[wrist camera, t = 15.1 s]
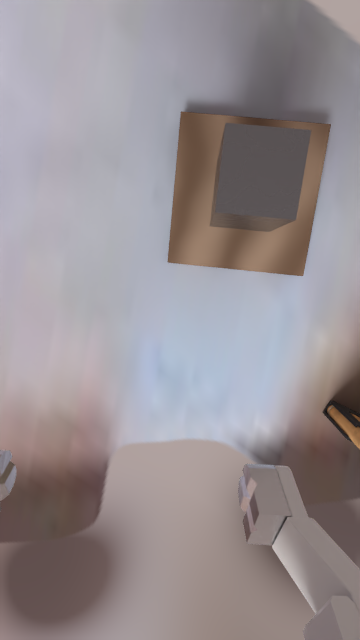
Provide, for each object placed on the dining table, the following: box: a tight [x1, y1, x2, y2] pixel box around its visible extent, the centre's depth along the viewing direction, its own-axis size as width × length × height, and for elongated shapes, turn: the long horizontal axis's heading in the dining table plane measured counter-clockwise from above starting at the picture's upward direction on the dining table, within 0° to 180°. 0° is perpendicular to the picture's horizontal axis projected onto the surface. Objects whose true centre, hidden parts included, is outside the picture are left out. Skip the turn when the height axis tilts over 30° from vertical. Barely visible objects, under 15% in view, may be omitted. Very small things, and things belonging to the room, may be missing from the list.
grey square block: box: [210, 123, 311, 232], centre depth 24 cm, size 6×6×8 cm
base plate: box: [168, 112, 331, 276], centre depth 28 cm, size 14×14×2 cm
